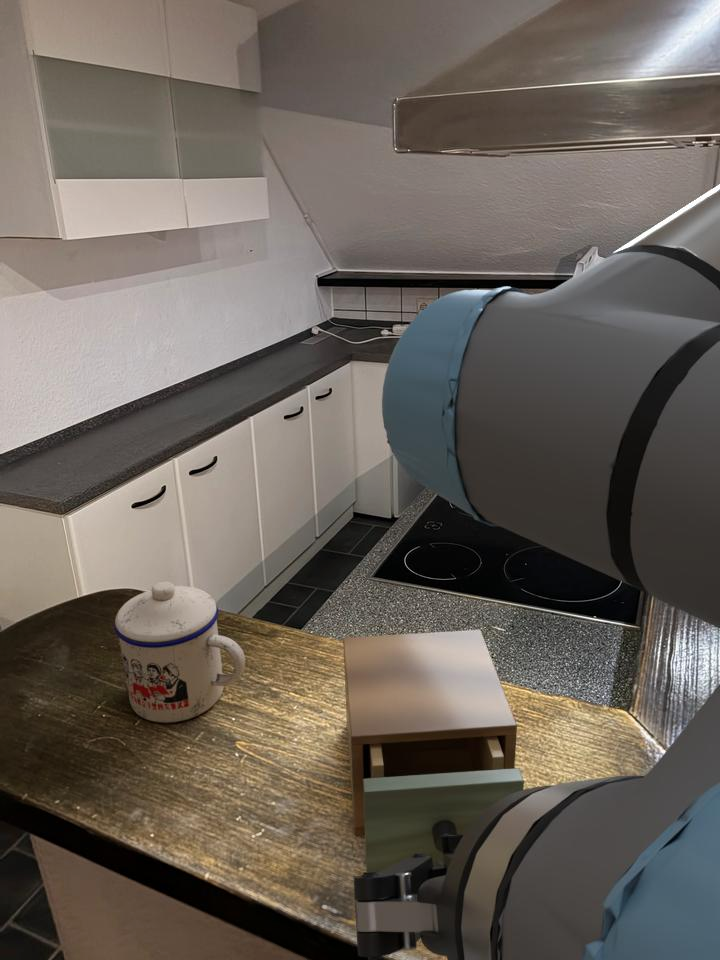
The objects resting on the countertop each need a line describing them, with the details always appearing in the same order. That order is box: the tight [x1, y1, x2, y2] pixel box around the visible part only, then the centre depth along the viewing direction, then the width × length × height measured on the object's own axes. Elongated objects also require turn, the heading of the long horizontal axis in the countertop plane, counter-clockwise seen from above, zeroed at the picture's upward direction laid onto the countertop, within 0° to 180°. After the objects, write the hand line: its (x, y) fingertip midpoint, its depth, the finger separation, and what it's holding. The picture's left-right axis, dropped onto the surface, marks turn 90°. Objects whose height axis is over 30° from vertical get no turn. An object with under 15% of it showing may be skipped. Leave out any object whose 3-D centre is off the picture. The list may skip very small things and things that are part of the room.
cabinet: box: [342, 629, 518, 837], centre depth 60 cm, size 12×12×9 cm
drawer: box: [363, 736, 525, 872], centre depth 55 cm, size 12×10×7 cm
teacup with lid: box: [113, 580, 246, 724], centre depth 69 cm, size 12×9×12 cm
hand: (462, 868), depth 42 cm, fingers closed
